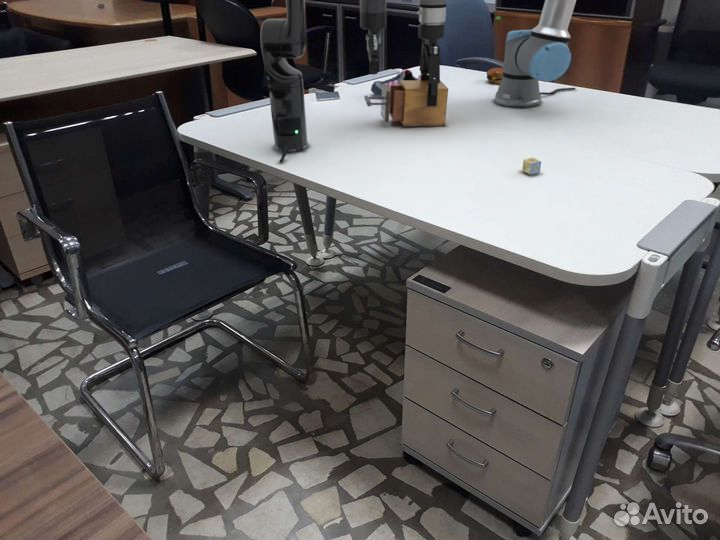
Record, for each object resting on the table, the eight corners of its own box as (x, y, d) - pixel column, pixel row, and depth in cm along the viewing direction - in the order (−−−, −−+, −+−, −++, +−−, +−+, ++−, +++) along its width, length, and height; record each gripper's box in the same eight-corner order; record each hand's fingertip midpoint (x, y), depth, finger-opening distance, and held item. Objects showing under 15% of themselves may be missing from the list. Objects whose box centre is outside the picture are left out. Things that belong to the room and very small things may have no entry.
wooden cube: (403, 126, 172) (405, 88, 166) (397, 116, 181) (399, 80, 176) (444, 126, 173) (448, 88, 168) (437, 116, 183) (440, 80, 177)
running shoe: (382, 90, 212) (382, 60, 206) (438, 103, 195) (439, 70, 190) (365, 95, 206) (364, 64, 201) (420, 108, 190) (421, 75, 184)
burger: (509, 78, 224) (510, 66, 222) (513, 84, 216) (515, 71, 214) (483, 78, 224) (484, 66, 222) (487, 84, 216) (488, 72, 214)
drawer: (366, 122, 171) (367, 91, 166) (363, 114, 179) (364, 83, 175) (422, 122, 173) (425, 91, 168) (417, 114, 181) (419, 83, 176)
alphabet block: (529, 175, 138) (531, 163, 136) (521, 170, 140) (523, 159, 139) (540, 173, 139) (541, 161, 137) (531, 168, 141) (533, 157, 140)
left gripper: (357, 7, 165) (358, 69, 174) (362, 13, 154) (363, 79, 163) (383, 6, 166) (383, 68, 174) (389, 12, 154) (389, 78, 163)
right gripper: (411, 18, 173) (409, 92, 184) (426, 29, 153) (423, 111, 164) (436, 17, 173) (432, 91, 185) (454, 28, 153) (448, 110, 165)
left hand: (373, 73), depth 169 cm, fingers closed
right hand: (428, 101), depth 174 cm, fingers closed on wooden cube, 11 cm apart
